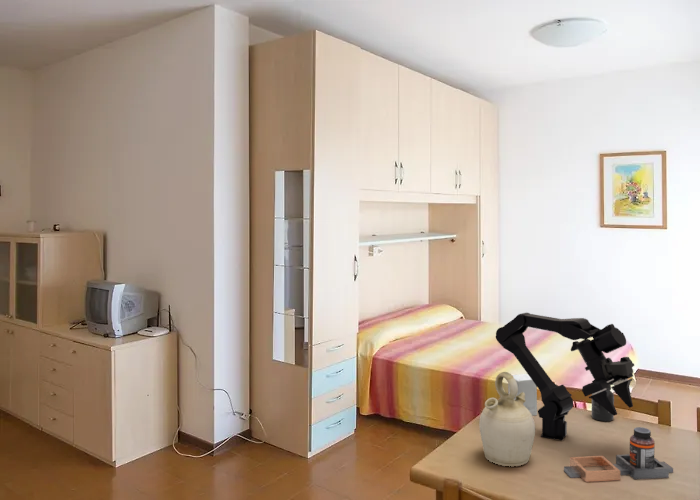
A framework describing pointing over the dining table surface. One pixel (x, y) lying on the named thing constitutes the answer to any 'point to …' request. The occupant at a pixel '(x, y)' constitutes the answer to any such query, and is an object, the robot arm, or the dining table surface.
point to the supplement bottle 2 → (642, 448)
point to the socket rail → (614, 469)
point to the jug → (507, 426)
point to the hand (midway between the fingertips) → (623, 411)
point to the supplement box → (527, 391)
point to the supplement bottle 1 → (602, 410)
